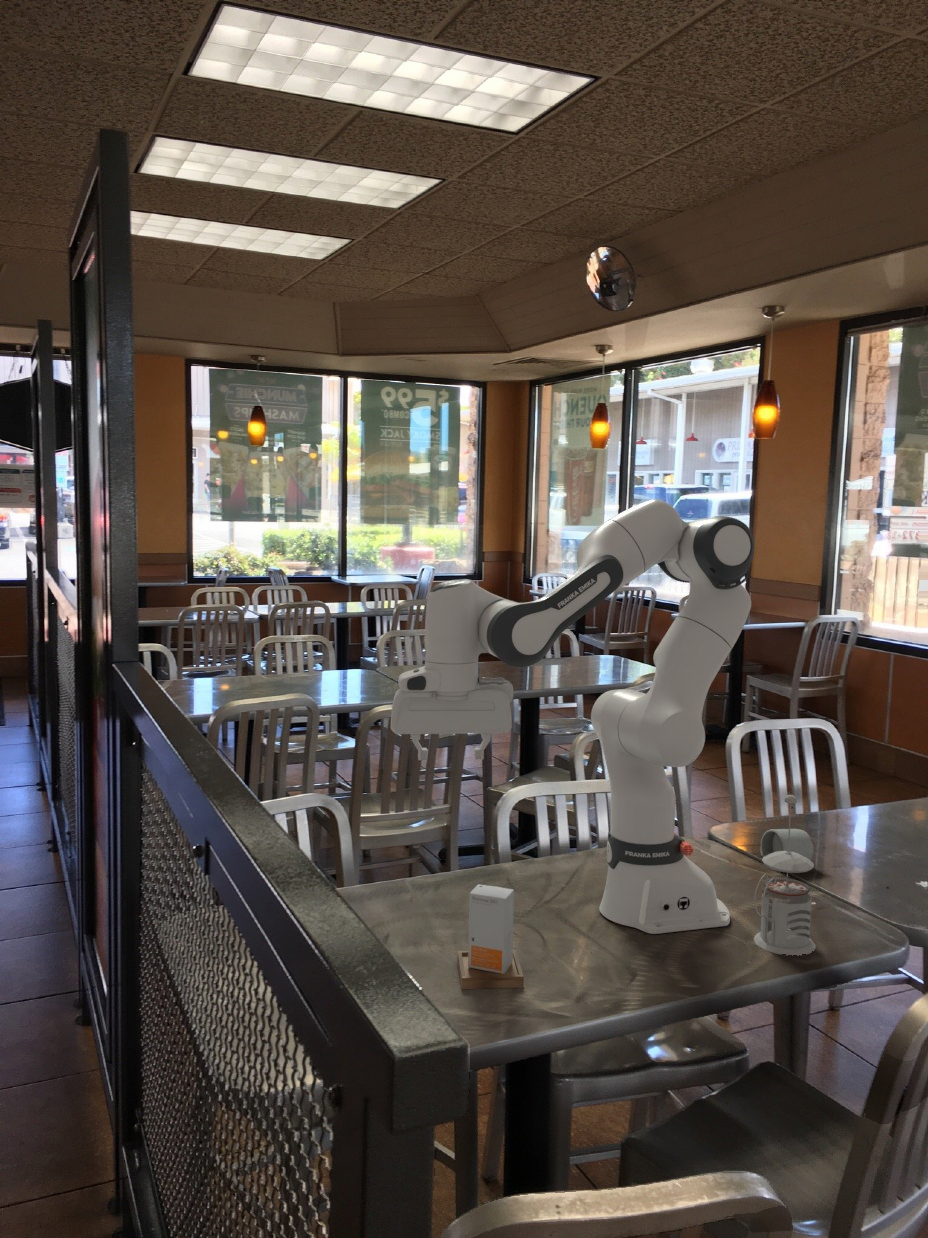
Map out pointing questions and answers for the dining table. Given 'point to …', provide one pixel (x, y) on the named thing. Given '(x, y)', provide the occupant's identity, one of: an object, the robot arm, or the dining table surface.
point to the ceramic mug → (779, 842)
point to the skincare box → (491, 928)
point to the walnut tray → (489, 975)
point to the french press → (786, 904)
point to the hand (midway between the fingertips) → (450, 759)
